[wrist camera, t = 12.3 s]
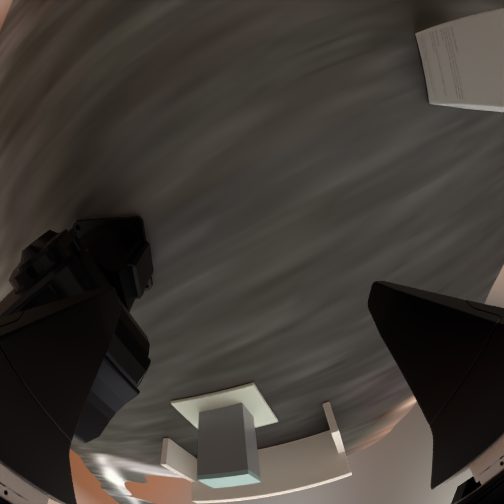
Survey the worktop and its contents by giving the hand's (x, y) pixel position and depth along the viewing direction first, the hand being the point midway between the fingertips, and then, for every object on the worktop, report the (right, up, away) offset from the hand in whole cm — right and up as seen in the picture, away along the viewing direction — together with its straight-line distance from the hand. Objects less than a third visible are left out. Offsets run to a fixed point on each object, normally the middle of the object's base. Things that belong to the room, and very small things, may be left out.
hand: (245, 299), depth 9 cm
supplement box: (+19, +19, +8) cm, 27 cm away
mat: (-3, -19, +23) cm, 30 cm away
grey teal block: (-3, -20, +23) cm, 30 cm away
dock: (0, -28, +27) cm, 39 cm away
